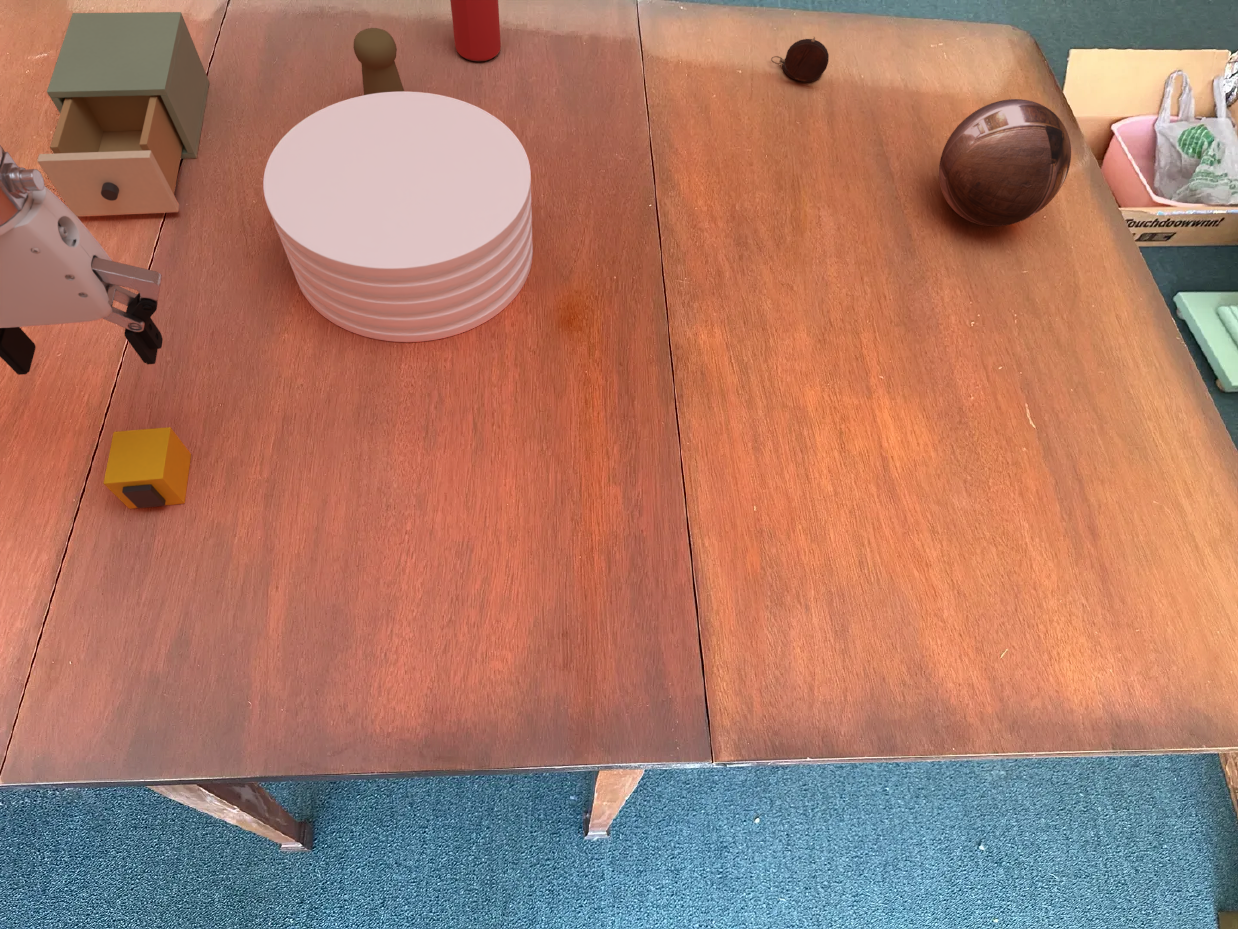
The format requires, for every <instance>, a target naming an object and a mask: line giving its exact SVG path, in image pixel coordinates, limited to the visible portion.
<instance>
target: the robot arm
mask: <svg viewBox="0 0 1238 929" xmlns="http://www.w3.org/2000/svg"><path fill="white" fill-rule="evenodd" d="M45 184H46V183H45V179H44V177H43V175H42V173H41V172H40V171H39V170H38V169H37V168H28V169H27V168H25V167H22V166H21V167H20V166H19V165H18V164H17V163H16V161H15V160H14V158H12V156H11V155H10V153H9V152H8V151H6V150H4V148H3V147H2V144H0V358H1V360H3V361H4V362H5V363H6V364H7V365H8V367H9V368H11V369H12V371H13V372H15V373H16V374H17V375H18V376H20V375H27V374H28V373H30V371H31V367H32V363H33V360H34V356H35V353H36V352H35V351H36V348H37V347H36V344H35V342H34V341H33V340H32V339H31V338H30V337H29V336H28V335H27V333H26V332H25V331H24V330H23V329H22V328H24V327H25V328H26V327H27V328H28V327H41V326H51V325H52V326H53V325H54V326H55V325H66V324H77V323H79V324H80V323H88V322H95V321H99V320H105V321H106V322H110V323H111V324H114V325H116V326H119V327H121V328H124V337H125V339H126V340H127V342H128V343H129V344H130V346H131V347H132V348H133V350H134V351H135V353H136V354H137V355H138V357H139V358H140V359H141V361H142V362H143V363H144V364H146V365H155V364H156V362H157V357H158V356H157V355H158V350H160V349H162V347H163V341H164V340H163V335H162V333H161V331H160V329H159V328H158V327H157V325H156V324H155V321H154V320H153V319H152V318H151V317H152V316H153V315H154V314H155V312H156V311H157V309H158V304H159V298H160V292H161V285H162V279H163V276H162V274H161V273H160V272H159V271H156V270H152V269H147V268H143V267H139V266H134V265H131V264H126V263H123V262H122V263H121V262H117V261H114V260H112V258H111V257H110V256H109V254H108V253H107V251H106V250H105V249H104V247H103V246H102V245H101V243H100V242H99V241H98V240H97V239H96V237H95V236H94V235H93V234H92V232H91V231H90V230H89V228H88V227H86V225H85V224H84V223H83V221H81V219H79V216H76V215H75V214H74V213H73V212H72V211H71V210H70V209H69V207H68V206H67V204H66V203H65V202H64V201H62V200H61V199H60V197H58V196H57V195H56V194H55V193H54V192H53V191H52V190H50V189H49V188H48V187H47V186H46V185H45ZM128 289H131V290H135V291H137V292H138V293H135V292H133V291H131V290H128ZM114 301H115V302H117V303H119V304H121V305H124V306H126V310H125V311H124V310H122V309H119V308H117V307H115V306H114Z"/></svg>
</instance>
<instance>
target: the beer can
mask: <svg viewBox="0 0 1238 929" xmlns="http://www.w3.org/2000/svg"><path fill="white" fill-rule="evenodd" d="M449 3H450V11H451V19H452V20H451V21H452V29H453V38H454V47H455V50H456V52H457V53H458V54H459V55H460V56H461V57H462V58H464V59H466V60H467V61H468V60H469V61H472V62H486V61H490V60H492V59H494V58H495V57H497V55H498V54H499V53H500V51H501V48H502V43H501V25H500V7H499V0H450V2H449Z"/></svg>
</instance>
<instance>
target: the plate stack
mask: <svg viewBox="0 0 1238 929" xmlns="http://www.w3.org/2000/svg"><path fill="white" fill-rule="evenodd" d="M264 168H265V169H264V172H263V179H262V180H263V182H262V185H263V186H262V187H263V196H264V201H265V203H266V206H267V209H268V211H269V214H270V216H271V219H272V221H273V224H274V227H275V229H276V231H277V232H276V233H277V234H278V237H279V239H280V242H281V244H282V247H283V249H284V252H285V254H286V256H287V260H288V262H289V264H290V267H291V270H292V271H293V272H292V273H293V274H294V277H295V280H296V282H297V285H298V287H299V289H300V292H301V293H302V294H303V297H304V298H305V300H307V302H308V303H309V304H310V306H311V307H312V308H314V309H315V311H316V312H318V314H320V315H321V316H322V317H324V318H325V319H326V320H328V321H329V322H331V323H332V324H334V325H335V326H337V327H340V328H342V329H344V330H346V331H348V332H351V333H352V334H356V335H359V336H362V337H365V338H369V339H373V340H379V341H385V342H392V343H393V342H395V343H419V342H420V343H421V342H429V341H436V340H441V339H446V338H449V337H453V336H457V335H460V334H463V333H465V332H468V331H470V330H473V329H476V328H477V327H479V326H481V325H483V324H485V323H486V322H488V321H490V320H491V319H493V318H494V317H496V316H497V315H498V314H500V313H501V312H503V311H504V310H505V309H506V308H507V307H508V306H509V305H510V304H511V303H512V302H513V301H514V300H515V298H516V297H517V296H518V295H519V293H520V292H521V290H522V289H523V288H524V286H525V284H526V282H527V279H528V277H529V274H530V271H531V268H532V263H533V257H534V256H533V253H534V251H533V250H534V248H533V209H532V174H531V173H532V172H531V164H530V160H529V157H528V155H527V151H526V150H525V147H524V146H523V144H522V142H521V141H520V140H519V137H518V136H517V135H515V133H514V132H513V131H512V130H511V129H510V128H509V126H507V125H506V124H505V123H504V122H502V121H501V120H500V119H499V118H498V117H496V116H494V115H493V114H491V113H489V112H488V111H486V110H485V109H482V108H481V107H479V106H477V105H474V104H472V103H469V102H467V101H463V100H461V99H458V98H454V97H451V96H447V95H442V94H436V93H431V92H421V91H405V90H404V91H402V92H383V93H375V94H368V95H364V94H362V95H360V96H355V97H351V98H348V99H344V100H340V101H338V102H335V103H333V104H330V105H328V106H326V107H324V108H322V109H320V110H317V111H315V112H313V113H312V114H310V115H309V116H307V117H305V118H303V119H302V120H301V121H300V122H298V123H296V125H293V127H292V128H291V129H290V130H289V131H287V133H285V134H284V136H282V138H281V139H280V140H279V141H278V143H277V144H276V145H275V147H274V148H273V150H272V151H271V153H270V156H269V157H268V160H267V162H266V165H265V167H264Z"/></svg>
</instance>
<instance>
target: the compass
mask: <svg viewBox="0 0 1238 929" xmlns="http://www.w3.org/2000/svg"><path fill="white" fill-rule="evenodd" d="M829 54H830V53H829V51H828V49H827V47H826V46H825V45H824V44H823V43H822V42H821V41H820V40H816V36H813V38H804V39H799V40H797V41H795V42H793V43H792V44H791V46H789V48H788V49H787V51H786V54H785V58H782V57H781V56H778V55H773V56H772V57H771V58H770V61H771V62H772V63H773V64H776V65H781V64H782V66H781V68H782V70H783V72H784V74H786V76H787V77H789V78H790V79H792V80H794V81H797V82H802V83H811V82H815V81H817V80H819V79H820V78H821V77H822V75H823V74H824V72H825V71H826V70H827V68H828V65H829V59H830V58H829V57H830V56H829ZM774 58H778V59H779V61H778V62H776V61H774V60H773V59H774Z"/></svg>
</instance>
